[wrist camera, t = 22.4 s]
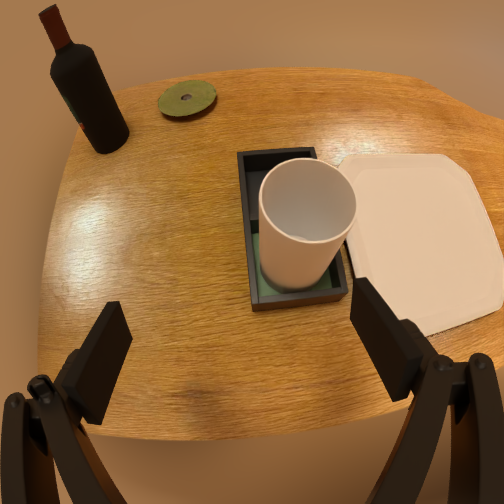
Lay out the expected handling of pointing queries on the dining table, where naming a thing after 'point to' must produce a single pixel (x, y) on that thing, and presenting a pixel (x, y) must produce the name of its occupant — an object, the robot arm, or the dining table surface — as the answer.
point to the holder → (251, 178)
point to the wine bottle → (84, 87)
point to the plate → (424, 239)
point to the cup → (302, 222)
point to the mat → (186, 98)
